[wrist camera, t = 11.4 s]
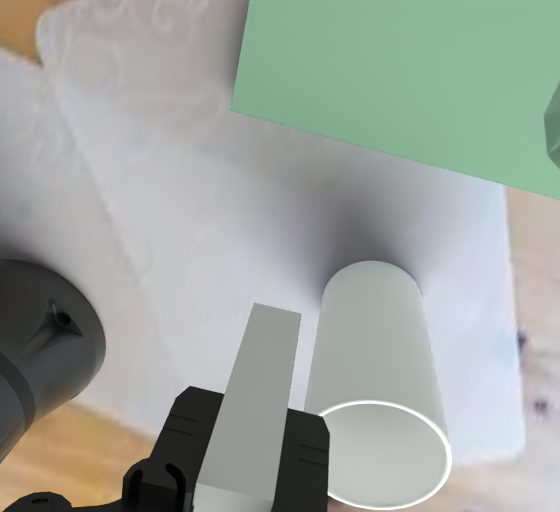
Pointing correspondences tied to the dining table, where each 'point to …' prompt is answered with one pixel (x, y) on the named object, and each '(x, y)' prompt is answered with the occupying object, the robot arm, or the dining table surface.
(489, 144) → the green
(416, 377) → the cup
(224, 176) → the dining table surface
